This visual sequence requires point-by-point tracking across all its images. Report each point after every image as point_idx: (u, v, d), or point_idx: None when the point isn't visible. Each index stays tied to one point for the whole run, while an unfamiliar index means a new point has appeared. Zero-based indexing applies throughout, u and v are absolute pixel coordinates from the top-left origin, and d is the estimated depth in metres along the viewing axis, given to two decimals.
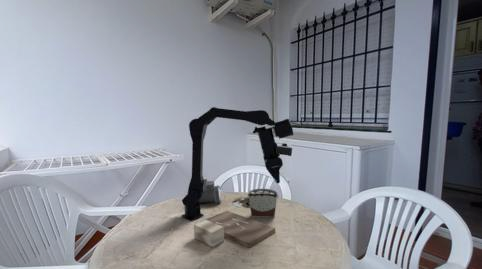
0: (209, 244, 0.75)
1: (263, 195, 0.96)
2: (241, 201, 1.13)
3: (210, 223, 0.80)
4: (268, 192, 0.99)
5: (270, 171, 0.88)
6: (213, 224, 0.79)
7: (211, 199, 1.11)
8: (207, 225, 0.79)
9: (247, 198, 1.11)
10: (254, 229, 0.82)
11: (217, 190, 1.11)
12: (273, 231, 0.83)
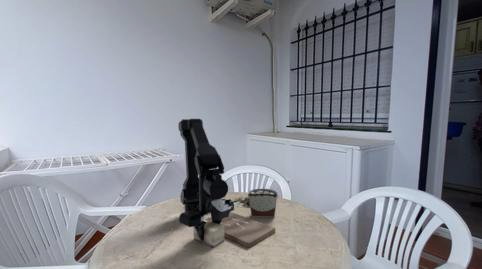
0: (210, 243, 0.75)
1: (263, 195, 0.96)
2: (242, 201, 1.13)
3: (210, 223, 0.80)
4: (268, 192, 0.99)
5: None
6: (213, 223, 0.79)
7: None
8: (207, 224, 0.79)
9: (248, 198, 1.11)
10: (254, 229, 0.82)
11: None
12: (273, 231, 0.83)
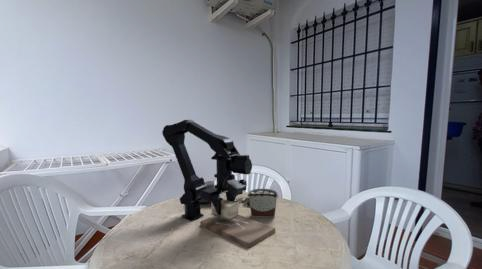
0: (227, 217, 0.87)
1: (263, 195, 0.96)
2: (242, 201, 1.13)
3: (225, 201, 0.92)
4: (268, 192, 0.99)
5: (211, 200, 0.88)
6: (228, 201, 0.91)
7: None
8: (223, 201, 0.91)
9: (248, 198, 1.11)
10: (254, 229, 0.82)
11: None
12: (273, 231, 0.83)
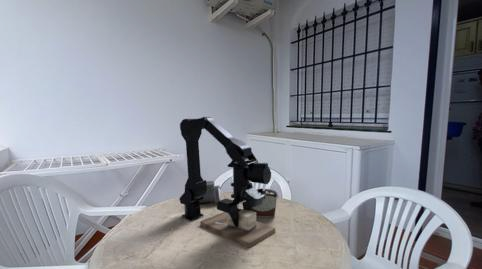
0: (245, 228, 0.81)
1: None
2: None
3: (242, 210, 0.86)
4: (268, 192, 0.99)
5: None
6: (245, 210, 0.86)
7: (211, 199, 1.11)
8: (240, 211, 0.85)
9: None
10: (254, 229, 0.82)
11: (217, 190, 1.11)
12: (273, 231, 0.83)
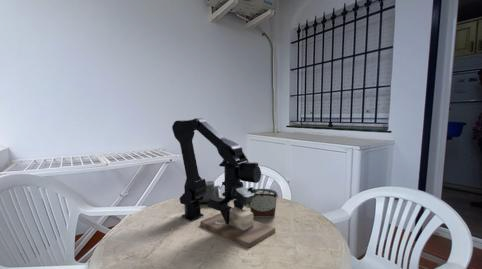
0: (240, 228, 0.82)
1: (263, 195, 0.96)
2: None
3: (240, 210, 0.87)
4: (268, 192, 0.99)
5: None
6: (243, 210, 0.86)
7: None
8: (237, 211, 0.86)
9: None
10: (254, 229, 0.82)
11: (217, 190, 1.11)
12: (273, 231, 0.83)
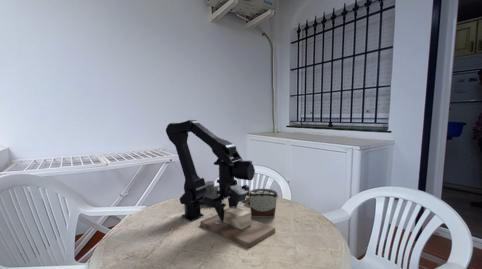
0: (238, 227, 0.82)
1: (263, 195, 0.96)
2: (243, 201, 1.13)
3: (238, 209, 0.87)
4: (268, 192, 0.99)
5: (214, 206, 0.87)
6: (241, 210, 0.87)
7: None
8: (235, 210, 0.86)
9: None
10: (254, 229, 0.82)
11: (217, 190, 1.11)
12: (273, 231, 0.83)
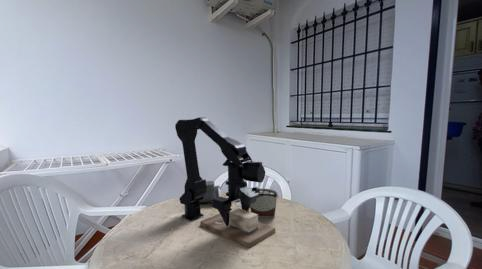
0: (245, 230, 0.80)
1: (263, 195, 0.96)
2: None
3: (245, 211, 0.85)
4: (268, 192, 0.99)
5: (219, 210, 0.83)
6: (247, 212, 0.85)
7: (211, 199, 1.11)
8: (242, 212, 0.84)
9: None
10: None
11: (217, 190, 1.11)
12: (273, 231, 0.83)
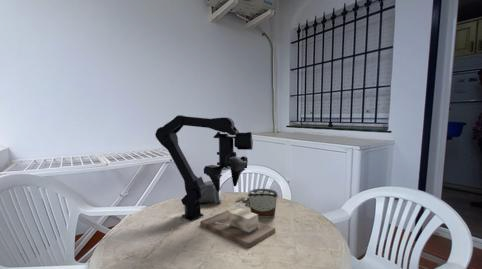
0: (245, 230, 0.80)
1: (263, 195, 0.96)
2: (244, 201, 1.13)
3: (245, 211, 0.85)
4: (268, 192, 0.99)
5: (211, 177, 0.91)
6: (247, 212, 0.85)
7: (211, 199, 1.11)
8: (242, 212, 0.84)
9: None
10: None
11: None
12: (273, 231, 0.83)
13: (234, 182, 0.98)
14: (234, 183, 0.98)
